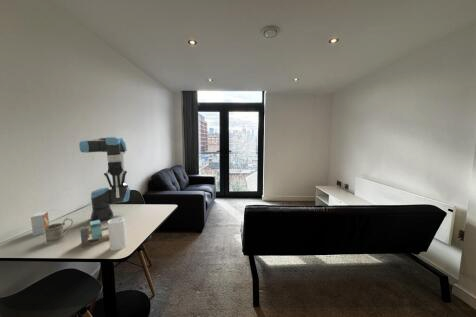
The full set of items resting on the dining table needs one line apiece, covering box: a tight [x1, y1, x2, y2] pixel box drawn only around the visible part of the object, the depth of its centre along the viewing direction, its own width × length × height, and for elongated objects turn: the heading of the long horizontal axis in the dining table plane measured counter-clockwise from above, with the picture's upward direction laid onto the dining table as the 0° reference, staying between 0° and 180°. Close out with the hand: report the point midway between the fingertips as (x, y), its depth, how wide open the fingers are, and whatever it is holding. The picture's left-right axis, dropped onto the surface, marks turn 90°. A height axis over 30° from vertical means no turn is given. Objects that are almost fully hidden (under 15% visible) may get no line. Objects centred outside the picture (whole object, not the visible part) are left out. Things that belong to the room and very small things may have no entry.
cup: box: [107, 217, 127, 251], centre depth 118 cm, size 8×8×16 cm
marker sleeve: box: [89, 220, 103, 240], centre depth 125 cm, size 7×5×9 cm
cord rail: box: [79, 225, 109, 248], centre depth 126 cm, size 7×19×10 cm, turn 130°
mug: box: [44, 217, 74, 246], centre depth 128 cm, size 14×10×12 cm
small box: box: [30, 211, 50, 237], centre depth 139 cm, size 8×6×13 cm
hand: (117, 197), depth 133 cm, fingers closed
